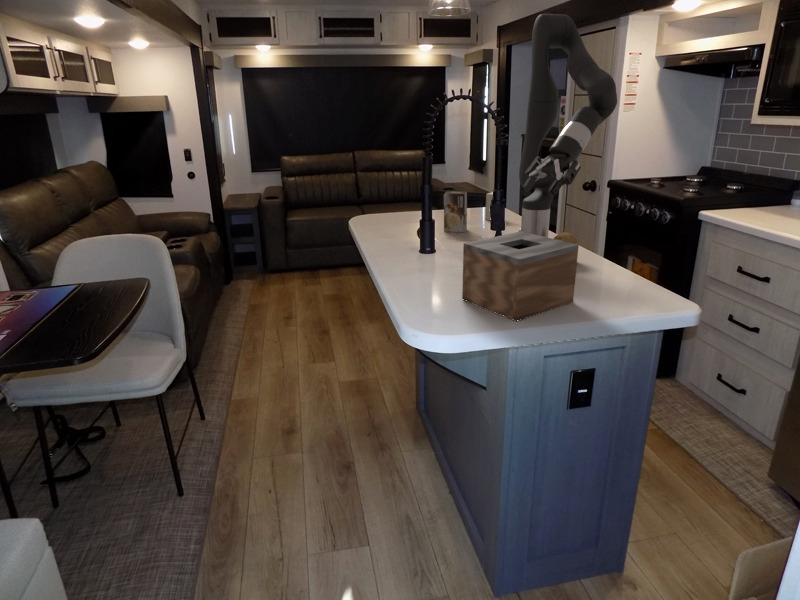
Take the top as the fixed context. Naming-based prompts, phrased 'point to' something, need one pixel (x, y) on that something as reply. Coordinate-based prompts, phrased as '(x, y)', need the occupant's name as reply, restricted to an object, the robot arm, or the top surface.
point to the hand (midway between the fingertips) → (537, 192)
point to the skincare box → (488, 205)
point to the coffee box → (455, 211)
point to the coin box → (519, 274)
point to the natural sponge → (566, 237)
